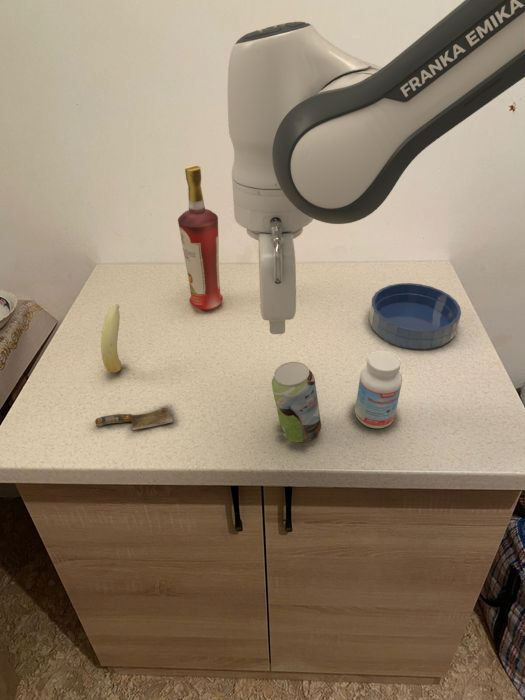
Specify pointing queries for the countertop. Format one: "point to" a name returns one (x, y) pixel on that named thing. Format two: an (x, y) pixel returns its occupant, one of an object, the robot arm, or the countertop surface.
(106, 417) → the meat cleaver
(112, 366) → the fruit
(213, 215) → the liquor
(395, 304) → the bowl
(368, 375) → the pill bottle
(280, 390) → the beverage can
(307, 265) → the countertop surface
